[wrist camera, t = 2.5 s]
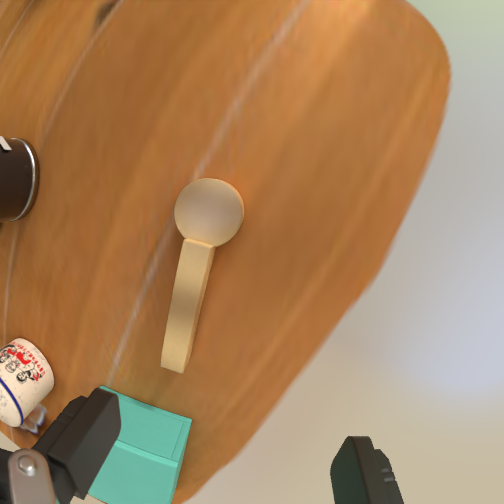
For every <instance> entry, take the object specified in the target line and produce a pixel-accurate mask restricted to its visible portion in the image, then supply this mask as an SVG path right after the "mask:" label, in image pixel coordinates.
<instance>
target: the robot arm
mask: <svg viewBox="0 0 504 504" xmlns="http://www.w3.org/2000/svg"><path fill="white" fill-rule="evenodd" d="M38 184H39V165H38V159H37V156H36V153H35V150H34V149H33V147H32V145H31V144H30V143H29V142H28V141H26V140H24V139H20V138H10V139H9V138H3V137H2V136H0V223H2V222H6V221H7V222H10V221H15V220H19V219H21V218H23V217H24V216H25V215H26V214H27V213H28V212H29V210H30V209H31V207H32V205H33V203H34V200H35V198H36V194H37V190H38ZM120 430H121V416H120V407H119V398H118V395H117V394H115V393H112V392H109V391H106V390H104V389H101V388H96V389H94V391H93V392H92V393H91V394H90V396H89V397H88V398H86V397H84V396H80V397H78V398H76V399H74V400H72V401H70V402H69V403H68V405H67V406H66V407H65V408H64V409H63V411H62V413H60V414H59V416H58V417H57V419H56V420H54V422H53V423H52V424H51V425H50V427H49V428H48V429H47V430H46V432H45V433H44V434H43V435H42V436H41V438H40V439H39V440H38V442H37V443H36V444H35V445H34V446H33V447H32V448H31V449H27V448H24V449H19V450H16V451H15V452H11V451H7V450H4V449H1V448H0V504H70V501H71V500H72V498H73V496H76V497H78V498H80V499H82V500H84V498H85V497H86V495H87V493H88V491H89V489H90V487H91V486H92V484H93V482H94V480H95V478H96V476H97V475H98V473H99V471H100V469H101V467H102V465H103V464H104V462H105V460H106V458H107V456H108V455H109V453H110V451H111V449H112V447H113V446H114V444H115V442H116V440H117V438H118V436H119V434H120ZM330 476H331V482H332V488H333V494H334V501H335V504H404V502H403V499H402V496H401V493H400V490H399V487H398V484H397V482H396V481H395V476H394V473H393V472H392V467H391V465H390V462H389V459H388V458H387V457H386V456H385V454H383V452H382V451H381V450H380V449H376V450H374V447H373V444H372V441H371V439H370V437H368V436H348V437H347V438H346V439H345V441H344V443H343V444H342V446H341V448H340V450H339V451H338V453H337V455H336V456H335V458H334V460H333V462H332V465H331V470H330Z"/></svg>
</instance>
